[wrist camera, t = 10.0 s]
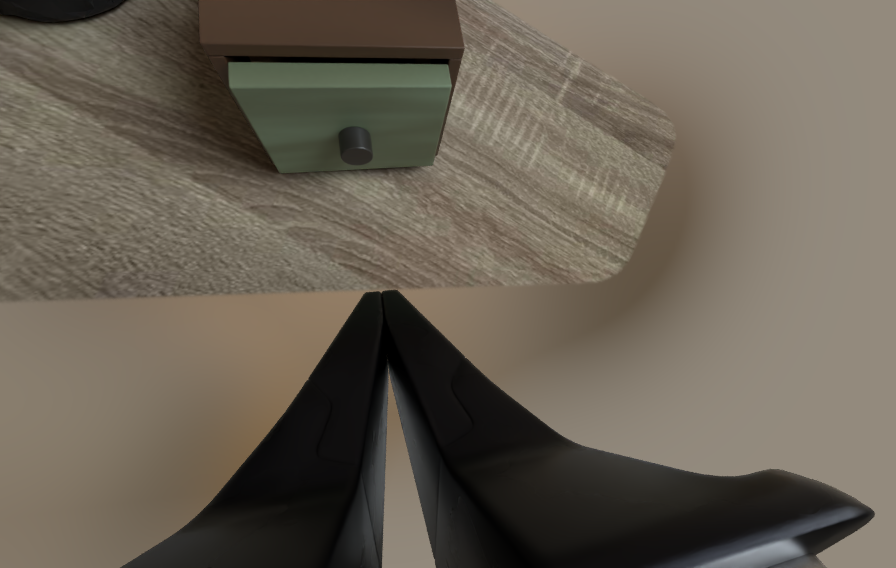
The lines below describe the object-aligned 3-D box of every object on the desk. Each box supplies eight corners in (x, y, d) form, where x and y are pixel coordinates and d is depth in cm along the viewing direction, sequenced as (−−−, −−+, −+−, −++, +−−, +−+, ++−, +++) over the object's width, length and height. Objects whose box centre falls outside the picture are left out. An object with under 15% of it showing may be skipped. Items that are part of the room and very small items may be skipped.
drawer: (435, 183, 21) (456, 110, 15) (281, 193, 19) (229, 114, 13) (412, 40, 23) (422, -80, 17) (269, 37, 21) (218, -100, 15)
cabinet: (437, 155, 22) (465, 48, 15) (271, 163, 20) (198, 42, 12) (416, 26, 24) (430, -134, 16) (261, 20, 22) (191, -165, 14)
